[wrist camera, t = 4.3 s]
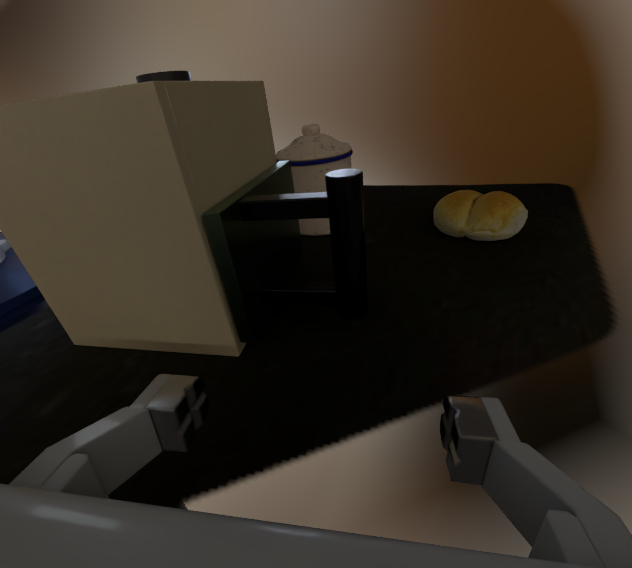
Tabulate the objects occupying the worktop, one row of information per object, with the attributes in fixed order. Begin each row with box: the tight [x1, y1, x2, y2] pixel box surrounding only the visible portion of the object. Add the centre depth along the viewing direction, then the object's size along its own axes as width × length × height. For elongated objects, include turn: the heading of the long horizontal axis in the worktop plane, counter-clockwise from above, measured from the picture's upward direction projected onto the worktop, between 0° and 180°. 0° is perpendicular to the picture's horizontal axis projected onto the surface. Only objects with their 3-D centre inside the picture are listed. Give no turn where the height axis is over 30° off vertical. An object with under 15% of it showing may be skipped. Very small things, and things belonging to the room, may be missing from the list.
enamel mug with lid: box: [276, 124, 353, 236], centre depth 40 cm, size 12×9×12 cm
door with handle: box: [202, 160, 368, 343], centre depth 25 cm, size 21×14×10 cm, turn 78°
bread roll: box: [434, 190, 528, 241], centre depth 35 cm, size 8×9×4 cm
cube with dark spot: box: [0, 71, 277, 356], centre depth 25 cm, size 14×14×17 cm
